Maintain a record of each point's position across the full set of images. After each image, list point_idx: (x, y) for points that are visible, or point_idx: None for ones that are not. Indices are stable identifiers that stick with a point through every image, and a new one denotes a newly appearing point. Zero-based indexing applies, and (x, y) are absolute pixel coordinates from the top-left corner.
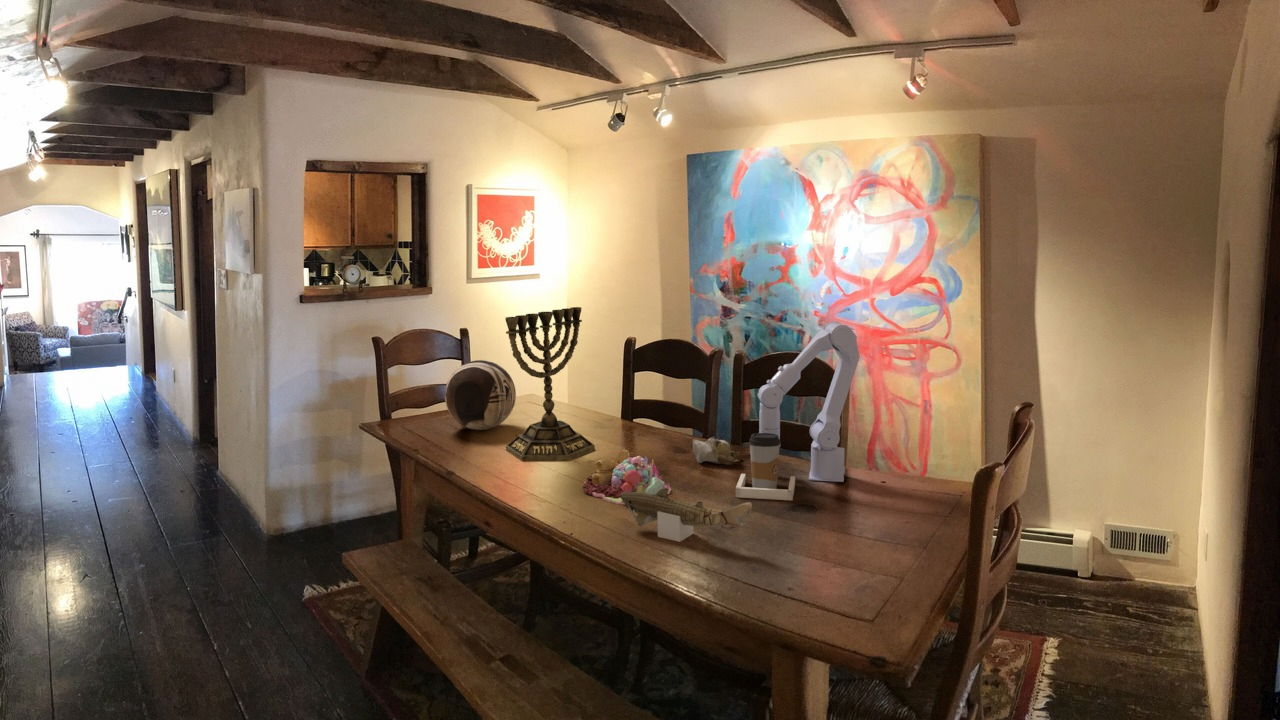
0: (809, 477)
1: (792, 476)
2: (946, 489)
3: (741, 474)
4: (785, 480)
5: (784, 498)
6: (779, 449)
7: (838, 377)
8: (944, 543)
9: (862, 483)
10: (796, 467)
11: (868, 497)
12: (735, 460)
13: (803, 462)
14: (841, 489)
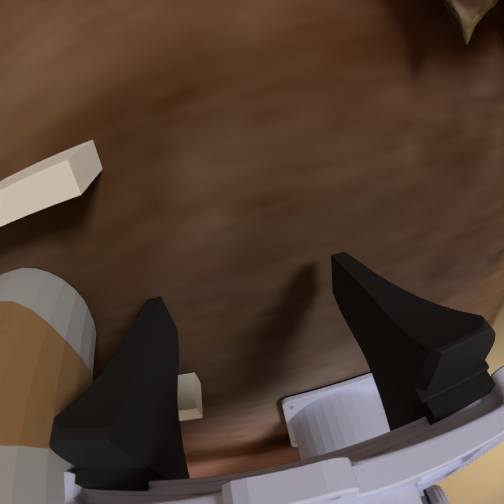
0: (300, 399)
1: (194, 413)
2: None
3: (49, 172)
4: (255, 340)
5: None
6: (391, 429)
7: None
8: None
9: (297, 456)
10: (452, 306)
11: (193, 477)
12: (470, 9)
13: (496, 300)
14: (225, 452)
